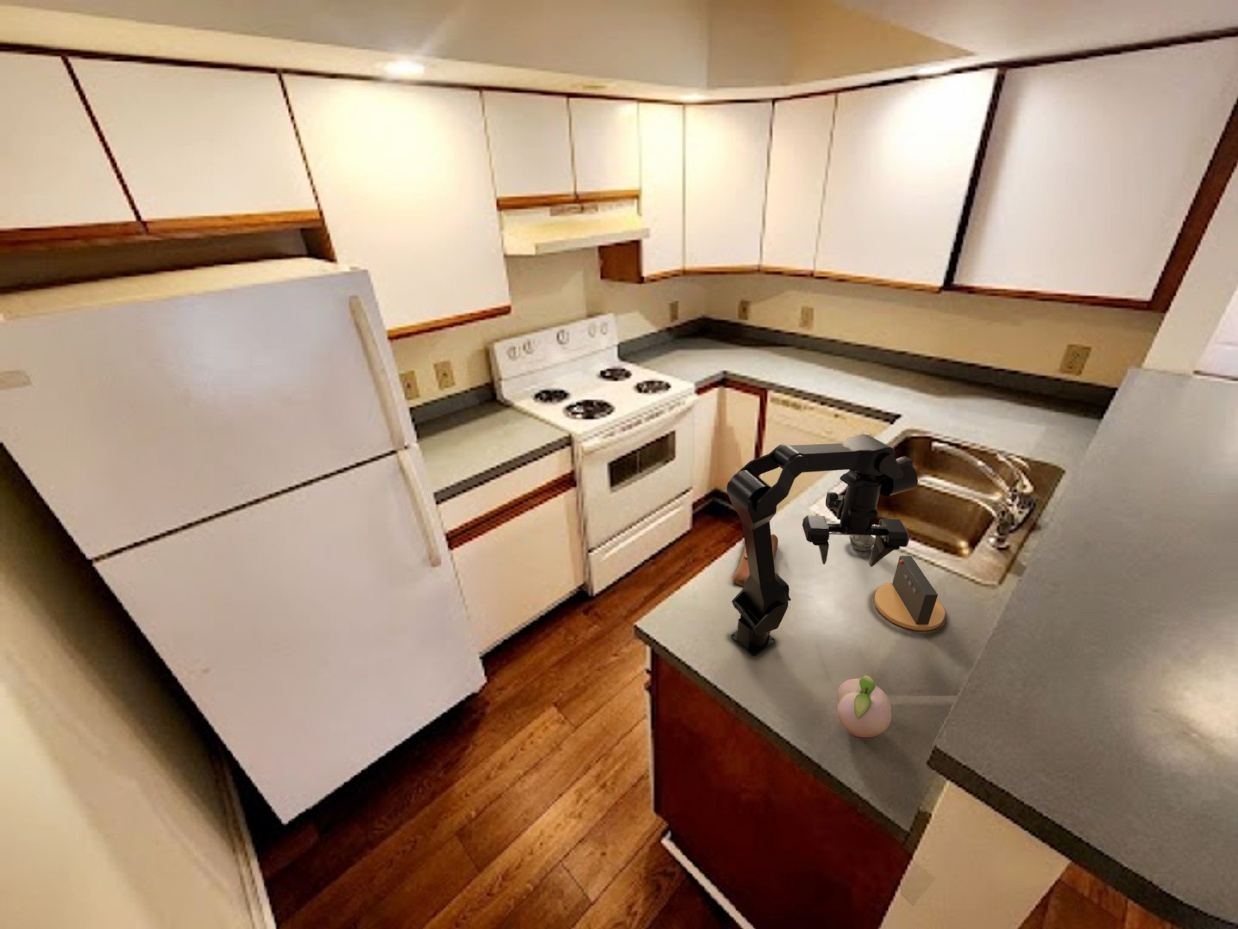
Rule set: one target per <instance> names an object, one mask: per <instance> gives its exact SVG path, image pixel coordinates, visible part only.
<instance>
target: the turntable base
mask: <svg viewBox="0 0 1238 929" xmlns="http://www.w3.org/2000/svg"><path fill="white" fill-rule="evenodd" d="M877 590H878V589H876V590H875V591H874V593H873V595H872V598H871V599H872V606H873V607H874V609H875V611H876V612H877V613H878V615H880V617H882V619H884V620H885V621H887V622H888V623H890V624H891V625H893V626H894V627H897V628H900V629H903V630H905V631H909V632H914V633H932V632H935V631H938V630H940V629H941V628H942V627H943V626H944V625H945V624H946V621H947V615H946V614H945V617H944V620H943V622H942V624H941V625H940V626H938V627H937V628H935V629H931V630H923V631H922V630H912V629H908V628H905V627H902V626H899V625H897V624H895V623H893V622H891V621H890V620H888V619H887V618H886V617H885V616H883V615H882V614H881V613H880V611H879V610H878V609H877V607H876V605H875V600H874V598H875V594H876V591H877Z"/></svg>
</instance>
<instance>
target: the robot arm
mask: <svg viewBox="0 0 1238 929" xmlns="http://www.w3.org/2000/svg"><path fill="white" fill-rule="evenodd" d="M913 463H914V460H913V459H911V458H909V457H907V456H905V455H903V456H900V457H898V458H896V451H895V448H893V447H892V446H891V445H888V444H886V443H885V442H883V441H880V440H878V439H877V438H875V437H873V436H871V435H869V434H866V433H865V434H864V433H863V434H858V435H855V436H850V437H848V438H847V439H846V440H845V441H844V442H840V443H839V442H837V443H817V444H815V443H814V444H813V443H812V444H788V443H781V444H778V445H776V447H774V448H773V450H771V451H770V452H769V453H767V454H765V455H762V456H759V457H756V458H754V459H752V460H751V459H750V461H749V462H747V463H746V464H745V465H744V466H742V467H741V468H740V469H739V470H738V471H737V472H736V473H735V474H734V475H732V477H731V478H730V480H729V481H728V482H727V484H726V493H727V495H728V498H729V500H730V503H731V505H732V507H733V508H734V510H735V512H736V514H737V515H738V517H739V519H740V521H741V527H742V534H743V541H744V543H745V547H746V554H747V560H748V567H749V573H750V575H749V576H748V577H747V579H746V580H745V582H744V587H743V588H742V589H741V590H740V591H738V593H737V595H735V597H734V598H733V599H732V600H731V603H732V606H733V608H734V609H735V610H736V611H737V612H738V613H739V614H740V617H739V618H738V620H737V630H736V631H734V632H733V633H731V634H730V639H732V640H733V641H734V642H735V643H736V644H738V646H740V647H741V648H742V649H743V650H745V652H747V654H749V655H750V656H751V657H756V656H758V655H760V654H761V653H762V652H764V651H765V650H766V649H768V648H770V647H771V646H772V645H774V644H775V643H776V639H775V638H774V637H773V636H772V635H771V632H773V631H775V630H778V629H779V627H780V626H781V622H782V620H783V619H784V616H785V615H786V612H787V610H788V608H789V602H791V601H792V598H791V597H790V586H789V583H787V582H786V581H785V580H784V579H783V578H782V577H781V576H780V575H779V574H778V573H777V572H776V566H775V560H774V555H773V546H772V538H771V535H772V530H771V520H772V519H773V518H774V517H775V515H776V514H777V508H778V505H779V504H781V502H783V501H784V500H785V499H786V498H787V497H788V496H789V494H790V492H791V489H792V487H793V484H794V482H795V479H797V478H798V477H799V476H800V475H801V474H803V473H818V472H832V471H847V470H848V471H847V472H845V473H843V474H842V475H840V477H839V480H840V481H841V482H843V483H844V484H846V485H847V486H846V490H845V495H840V494H838V493H837V492H835V491H833V492H832V491H827V492H826V496H825V503H824V504H825V507H826V508H827V509H829V510H833V511H834V512H836V516H835V517H836V519H837V520H838V521H839V523H828V521H827V519H826V517H825V515H806V516H805V517H803V519H802V523H801V527H802V530H803V533H804V536H805V539H806V542H808V543H812V545H813V546H816V547H818V549H819V554H820V560H821V563H822V565H826V563H827V560H828V553H829V547H830V543H829V540H830V535H835V536H836V535H837V536H850V535H854V536H862V535H871V536H874V539H875V543H874V545H873V546H872V548H871V549H872V550H871V552H870V555H869V558H868V559H869V560H868V565H869V567H870V568H872V567H874V566H875V565H876V564H877V563H879V562H880V561H881V560H882V559H883V558H884V557H886V556H887V555H889V554H890V553H892V552H893V551H895V550H900V548H901V547H902V548H906V547H908V545H909V543H910V539H911V538H910V532H909V531H908V530H907V528H906V526H905V525H904V522H902V520H901V519H899V518H880V519H879V520H878V524H874V519H875V518H876V519H877V518H878V514H879V513H878V511H877V507H878V502H879V498H880V495H881V496H883V497H890V496H893V495H897V494H901V493H904V492H907V491H912V490H914V489H915V488H916V487H917V486H918V482H919V479H918V474H917V471H916V469H915V468H914V466H913ZM778 468H780V469H782V470H781V472H780V474H779V475H778V476H779V477H778V479H777V482H776V483H775V484H773V485H772V486H771V485H770V484H769V483H767V482H766V481H765V480H763V479H762V478H761V477H760V476H761V475H763V474H766V473H768V472H771V471H774V470H776V469H778Z"/></svg>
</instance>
